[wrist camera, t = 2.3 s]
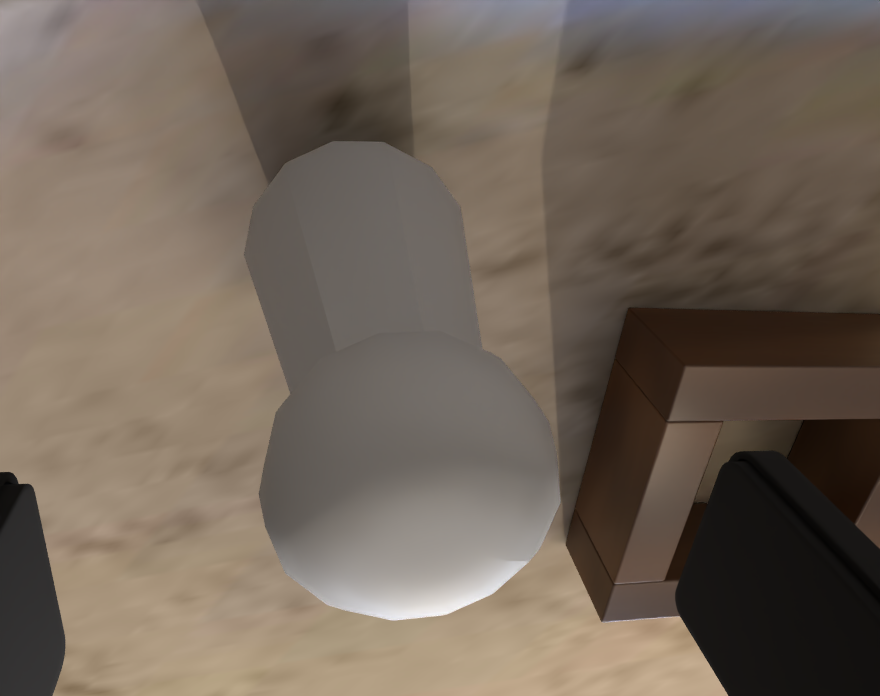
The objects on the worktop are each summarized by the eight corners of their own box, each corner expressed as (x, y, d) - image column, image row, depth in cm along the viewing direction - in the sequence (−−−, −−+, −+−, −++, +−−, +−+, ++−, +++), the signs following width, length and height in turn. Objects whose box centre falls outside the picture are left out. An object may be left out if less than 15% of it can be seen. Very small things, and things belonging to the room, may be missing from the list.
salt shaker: (309, 339, 22) (322, 736, 10) (211, 177, 19) (84, 489, 8) (476, 263, 21) (672, 584, 10) (404, 86, 18) (568, 269, 7)
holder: (627, 307, 23) (685, 365, 20) (896, 313, 26) (988, 367, 22) (564, 544, 28) (601, 623, 25) (792, 531, 31) (854, 603, 27)
